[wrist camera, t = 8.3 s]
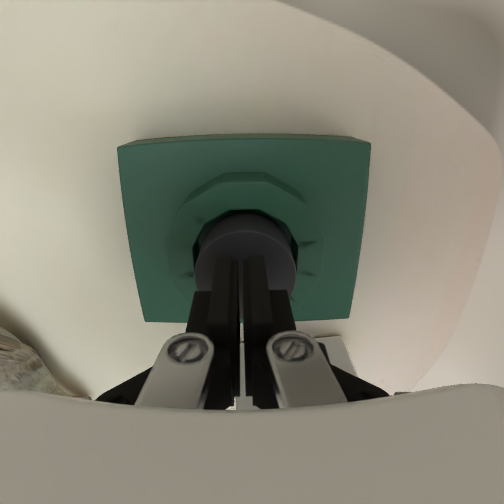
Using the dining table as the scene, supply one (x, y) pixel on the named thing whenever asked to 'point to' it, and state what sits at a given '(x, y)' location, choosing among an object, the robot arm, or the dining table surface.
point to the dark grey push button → (247, 251)
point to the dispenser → (245, 211)
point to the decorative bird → (24, 368)
